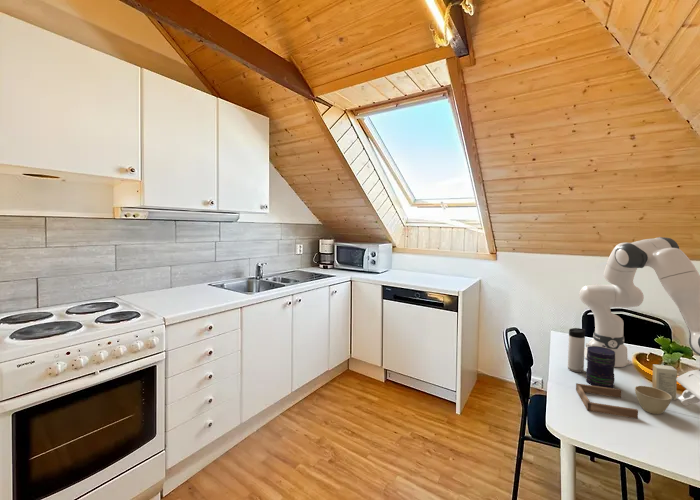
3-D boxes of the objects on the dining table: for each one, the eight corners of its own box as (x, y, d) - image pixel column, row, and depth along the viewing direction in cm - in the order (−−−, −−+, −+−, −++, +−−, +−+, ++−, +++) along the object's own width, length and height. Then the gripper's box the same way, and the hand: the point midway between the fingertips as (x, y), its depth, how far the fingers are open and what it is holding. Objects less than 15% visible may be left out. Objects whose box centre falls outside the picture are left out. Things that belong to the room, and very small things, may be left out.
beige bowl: (674, 421, 114) (675, 402, 114) (637, 413, 120) (637, 394, 119) (666, 407, 123) (667, 389, 122) (631, 400, 128) (632, 383, 128)
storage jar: (582, 376, 148) (583, 338, 147) (608, 379, 145) (610, 340, 144) (590, 387, 139) (591, 346, 138) (618, 390, 136) (620, 348, 134)
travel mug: (587, 373, 152) (588, 331, 150) (571, 372, 153) (572, 330, 151) (580, 367, 158) (581, 327, 156) (565, 366, 159) (566, 326, 158)
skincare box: (671, 395, 132) (673, 365, 131) (676, 400, 128) (678, 370, 127) (650, 392, 134) (652, 363, 133) (655, 397, 130) (656, 367, 129)
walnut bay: (575, 390, 137) (576, 383, 137) (620, 396, 131) (620, 389, 131) (587, 410, 122) (587, 402, 122) (637, 418, 117) (638, 410, 116)
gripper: (693, 361, 124) (658, 382, 128) (731, 386, 105) (689, 409, 109) (708, 374, 123) (673, 394, 127) (749, 402, 104) (706, 425, 108)
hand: (681, 402), depth 118 cm, fingers closed
